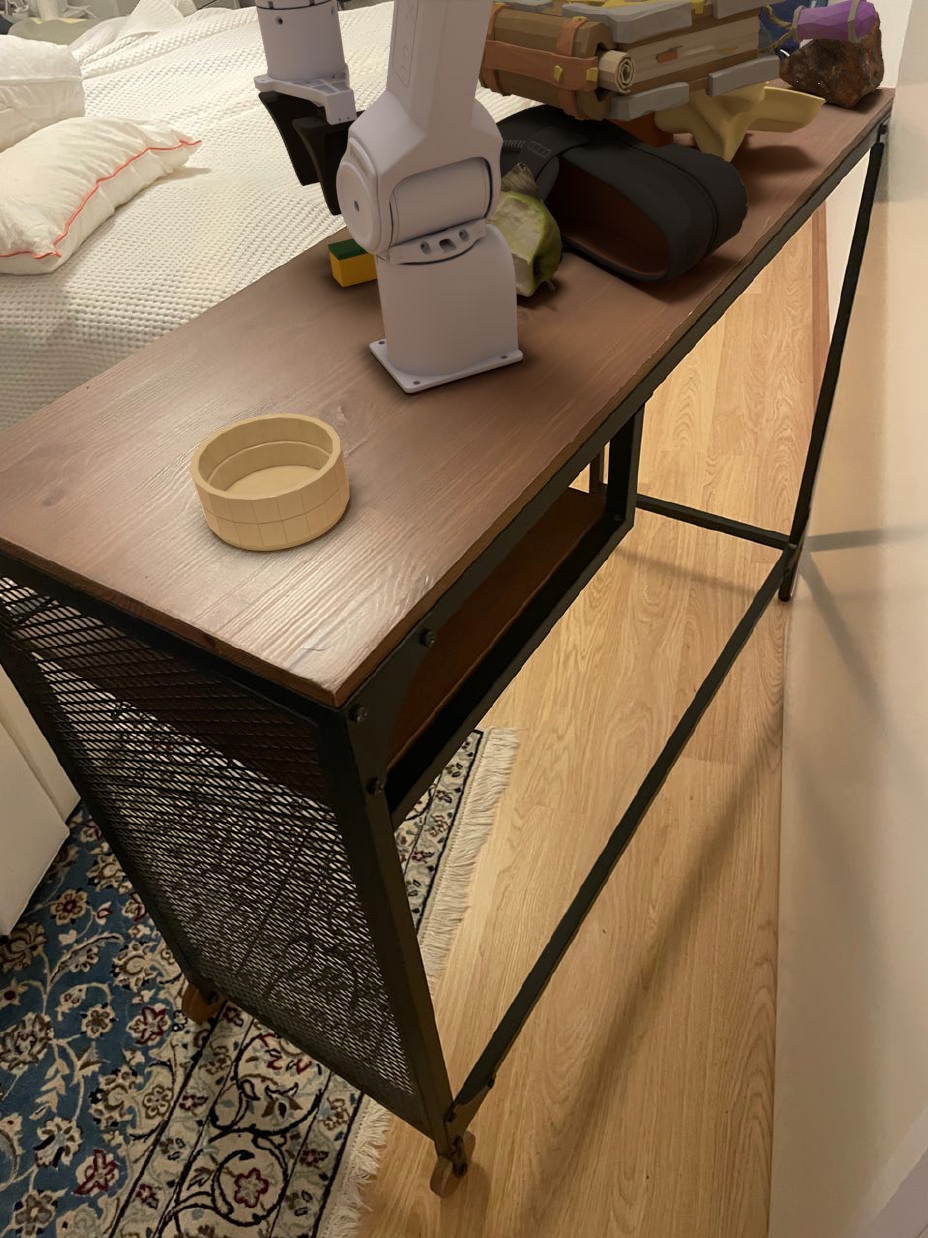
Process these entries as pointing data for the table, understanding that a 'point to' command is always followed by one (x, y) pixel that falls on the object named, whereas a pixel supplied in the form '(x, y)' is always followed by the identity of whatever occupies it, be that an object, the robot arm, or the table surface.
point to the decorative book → (643, 50)
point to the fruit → (527, 230)
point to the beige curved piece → (738, 116)
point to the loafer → (625, 192)
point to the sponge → (351, 263)
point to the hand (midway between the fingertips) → (328, 196)
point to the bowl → (271, 481)
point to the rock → (837, 67)
